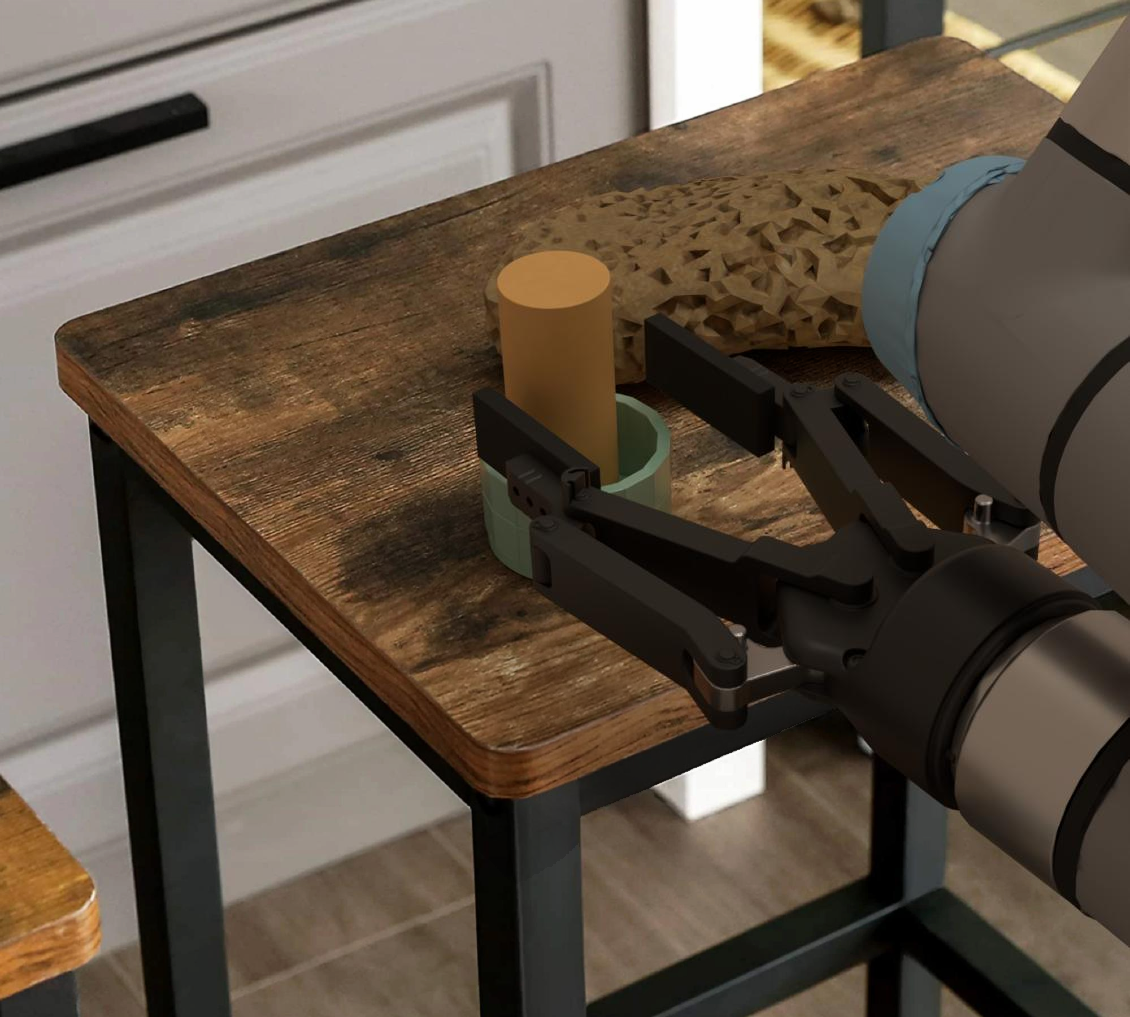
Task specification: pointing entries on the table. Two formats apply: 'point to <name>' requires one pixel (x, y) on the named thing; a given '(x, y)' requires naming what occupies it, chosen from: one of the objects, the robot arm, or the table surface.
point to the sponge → (728, 257)
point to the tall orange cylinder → (562, 350)
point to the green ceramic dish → (639, 481)
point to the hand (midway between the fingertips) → (570, 383)
